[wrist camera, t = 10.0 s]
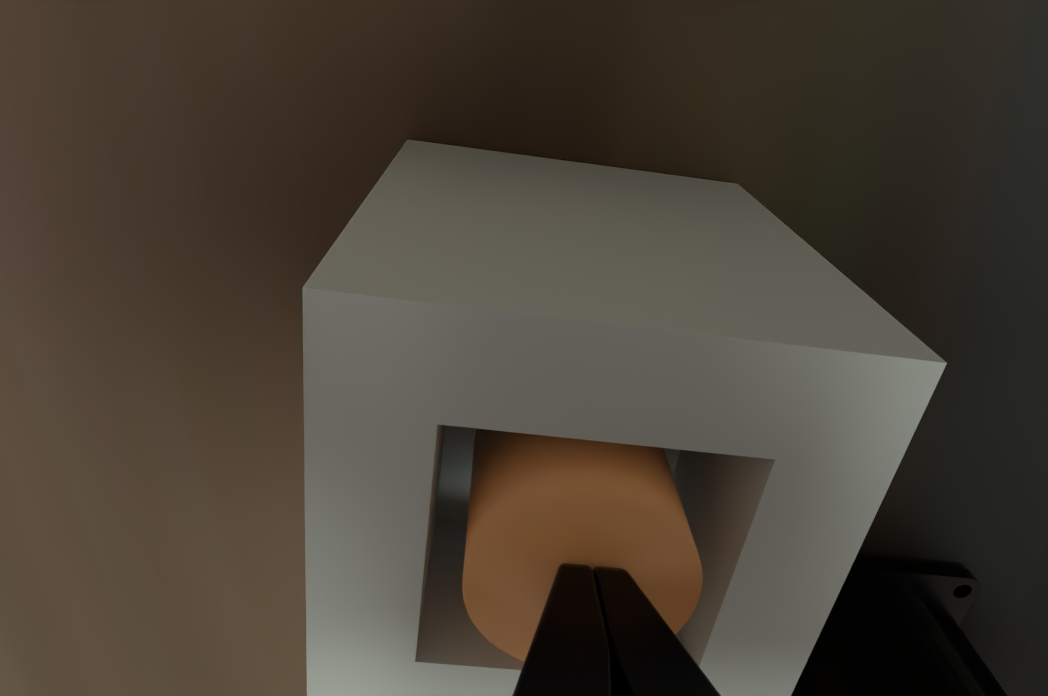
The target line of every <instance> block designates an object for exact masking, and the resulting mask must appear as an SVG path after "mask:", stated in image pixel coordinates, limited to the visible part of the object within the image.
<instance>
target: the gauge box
mask: <svg viewBox="0 0 1048 696" xmlns="http://www.w3.org/2000/svg"><path fill="white" fill-rule="evenodd" d="M302 297H303V383H304V470H305V557H306V643H307V696H512V695H513V692H514V690H515V687H516V684H517V681H518V678H519V676H520V673H521V670H522V667H523V665H524V662H525V661H522V660H520V659H517V658H515V657H513V656H511V655H509V654H507V653H505V652H504V651H502V650H500V649H499V648H497V647H496V646H495V645H493V644H492V643H491V642H489V641H488V640H487V639H486V638H485V637H484V636H483V635H482V634H481V633H480V632H479V630H478V629H477V628H476V626H475V625H474V624H473V622H472V620H471V618H470V616H469V615H468V613H467V610H466V607H465V604H464V600H463V592H462V581H463V568H464V556H465V545H466V533H467V521H468V509H469V498H470V486H471V474H472V462H473V451H474V439H475V434H476V429H487V430H496V431H506V432H515V433H525V434H535V435H544V436H554V437H563V438H573V439H583V440H592V441H602V442H611V443H621V444H631V445H640V446H650V447H659V448H664V451H665V454H666V457H667V460H668V463H669V466H670V469H671V472H672V475H673V479H674V482H675V485H676V488H677V491H678V494H679V497H680V500H681V503H682V506H683V509H684V512H685V515H686V518H687V521H688V524H689V527H690V530H691V533H692V536H693V539H694V542H695V545H696V548H697V551H698V554H699V558H700V561H701V565H702V574H703V580H702V590H701V594H700V597H699V601H698V603H697V605H696V607H695V610H694V611H693V613H692V615H691V616H690V618H689V619H688V621H687V622H686V623H685V624H684V626H683V627H682V628H681V629H680V630H679V631H678V632H677V633H676V634H675V635H676V636H677V638H678V639H679V640H680V642H681V643H682V644H683V646H684V647H685V648H686V650H687V651H688V652H689V654H690V655H691V656H692V658H693V659H694V660H695V662H696V663H697V664H698V666H699V667H700V668H701V670H702V671H703V672H704V674H705V675H706V676H707V678H708V679H709V680H710V682H711V683H712V684H713V686H714V687H715V688H716V690H717V691H718V692H719V694H720V695H721V696H791V694H792V692H793V690H794V688H795V686H796V684H797V682H798V679H799V677H800V675H801V673H802V671H803V669H804V667H805V665H806V662H807V660H808V658H809V656H810V654H811V652H812V650H813V648H814V645H815V643H816V641H817V639H818V637H819V635H820V633H821V630H822V628H823V626H824V624H825V622H826V620H827V618H828V616H829V613H830V611H831V609H832V607H833V605H834V603H835V601H836V599H837V596H838V594H839V592H840V590H841V588H842V586H843V584H844V581H845V579H846V577H847V575H848V573H849V571H850V569H851V567H852V564H853V562H854V560H855V558H856V556H857V554H858V552H859V550H860V547H861V545H862V543H863V541H864V539H865V537H866V535H867V532H868V530H869V528H870V526H871V524H872V522H873V520H874V518H875V515H876V513H877V511H878V509H879V507H880V505H881V503H882V501H883V498H884V496H885V494H886V492H887V490H888V488H889V486H890V483H891V481H892V479H893V477H894V475H895V473H896V471H897V469H898V466H899V464H900V462H901V460H902V458H903V456H904V454H905V452H906V449H907V447H908V445H909V443H910V441H911V439H912V437H913V434H914V432H915V430H916V428H917V426H918V424H919V422H920V420H921V417H922V415H923V413H924V411H925V409H926V407H927V405H928V403H929V400H930V398H931V396H932V394H933V392H934V390H935V388H936V385H937V383H938V381H939V379H940V377H941V375H942V373H943V371H944V368H945V366H946V364H947V363H946V362H945V361H944V360H943V359H942V358H941V357H939V356H938V355H937V354H936V353H935V352H934V351H932V350H931V349H930V348H929V347H928V346H927V345H925V344H924V343H923V342H922V341H921V340H920V339H918V338H917V337H916V336H915V335H914V334H913V333H911V332H910V331H909V330H908V329H907V328H906V327H904V326H903V325H902V324H901V323H900V322H899V321H897V320H896V319H895V318H894V317H893V316H892V315H890V314H889V313H888V312H887V311H886V310H885V309H883V308H882V307H881V306H880V305H879V304H878V303H876V302H875V301H874V300H873V299H872V298H871V297H869V296H868V295H867V294H866V293H865V292H864V291H862V290H861V289H860V288H859V287H858V286H856V285H855V284H854V283H853V282H852V281H851V280H849V279H848V278H847V277H846V276H845V275H844V274H842V273H841V272H840V271H839V270H838V269H837V268H835V267H834V266H833V265H832V264H831V263H830V262H828V261H827V260H826V259H825V258H824V257H823V256H821V255H820V254H819V253H818V252H817V251H816V250H814V249H813V248H812V247H811V246H810V245H809V244H807V243H806V242H805V241H804V240H803V239H802V238H800V237H799V236H798V235H797V234H796V233H795V232H793V231H792V230H791V229H790V228H789V227H788V226H786V225H785V224H784V223H783V222H782V221H781V220H779V219H778V218H777V217H776V216H775V215H774V214H772V213H771V212H770V211H769V210H768V209H767V208H765V207H764V206H763V205H762V204H761V203H760V202H758V201H757V200H756V199H755V198H754V197H753V196H751V195H750V194H749V193H748V192H747V191H746V190H744V189H743V188H742V187H741V186H740V185H739V184H737V183H729V182H722V181H714V180H707V179H699V178H692V177H684V176H677V175H669V174H662V173H655V172H647V171H640V170H632V169H625V168H617V167H610V166H602V165H595V164H587V163H580V162H573V161H565V160H558V159H550V158H543V157H535V156H528V155H520V154H513V153H506V152H498V151H491V150H483V149H476V148H468V147H461V146H453V145H446V144H438V143H431V142H424V141H416V140H409V139H407V141H406V142H405V143H404V145H403V146H402V148H401V149H400V151H399V152H398V153H397V155H396V156H395V158H394V159H393V160H392V162H391V163H390V165H389V166H388V167H387V169H386V170H385V172H384V173H383V175H382V176H381V177H380V179H379V180H378V182H377V183H376V184H375V186H374V187H373V189H372V190H371V191H370V193H369V194H368V196H367V197H366V199H365V200H364V201H363V203H362V204H361V206H360V207H359V208H358V210H357V211H356V213H355V214H354V215H353V217H352V218H351V220H350V221H349V223H348V224H347V225H346V227H345V228H344V230H343V231H342V232H341V234H340V235H339V237H338V238H337V239H336V241H335V242H334V244H333V245H332V247H331V248H330V249H329V251H328V252H327V254H326V255H325V256H324V258H323V259H322V261H321V262H320V263H319V265H318V266H317V268H316V269H315V271H314V272H313V273H312V275H311V276H310V278H309V279H308V280H307V282H306V283H305V285H304V286H303V287H302Z"/></svg>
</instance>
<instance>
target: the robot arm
mask: <svg viewBox="0 0 1048 696" xmlns="http://www.w3.org/2000/svg"><path fill="white" fill-rule="evenodd" d="M980 589H981V587H980V583H979V582H978V581H977V579H976V578H975V577H974V576H973V574H972V573H971V572H970V571H969V570H967V569H964V568H958V567H947V566H937V565H926V564H915V563H905V562H894V561H883V560H873V559H862V558H855V560H854V562H853V564H852V567H851V569H850V571H849V573H848V575H847V577H846V579H845V581H844V584H843V586H842V588H841V590H840V592H839V594H838V596H837V599H836V601H835V603H834V605H833V607H832V609H831V611H830V613H829V616H828V618H827V620H826V622H825V624H824V626H823V628H822V630H821V633H820V635H819V637H818V639H817V641H816V643H815V645H814V648H813V650H812V652H811V654H810V656H809V658H808V660H807V662H806V665H805V667H804V669H803V671H802V673H801V675H800V677H799V679H798V682H797V684H796V686H795V688H794V690H793V692H792V694H791V696H1007V695H1006V693H1005V692H1004V690H1003V689H1002V687H1001V686H1000V685H999V683H998V682H997V680H996V679H995V677H994V676H993V675H992V673H991V672H990V670H989V669H988V667H987V666H986V665H985V663H984V662H983V660H982V659H981V657H980V656H979V655H978V653H977V652H976V650H975V649H974V648H973V646H972V645H971V643H970V642H969V640H968V639H967V638H966V636H965V635H964V633H963V632H962V630H961V629H960V628H959V626H960V624H961V623H962V621H963V619H964V617H965V616H966V614H967V612H968V611H969V609H970V607H971V606H972V604H973V602H974V601H975V599H976V597H977V596H978V594H979V592H980ZM512 696H721V695H720V694H719V692H718V691H717V690H716V688H715V687H714V686H713V684H712V683H711V682H710V680H709V679H708V678H707V676H706V675H705V674H704V672H703V671H702V670H701V668H700V667H699V666H698V664H697V663H696V662H695V660H694V659H693V658H692V656H691V655H690V654H689V652H688V651H687V650H686V648H685V647H684V646H683V644H682V643H681V642H680V640H679V639H678V638H677V636H676V635H675V634H674V632H673V631H672V630H671V628H670V627H669V626H668V624H667V623H666V622H665V620H664V619H663V618H662V616H661V615H660V614H659V612H658V611H657V610H656V608H655V607H654V606H653V604H652V603H651V602H650V600H649V599H648V598H647V596H646V595H645V594H644V592H643V591H642V590H641V588H640V587H639V586H638V584H637V583H636V582H635V580H634V579H633V578H632V576H631V575H630V574H629V572H627V571H626V570H625V569H622V568H613V567H603V566H597V567H595V568H593V569H592V568H591V567H590V566H588V565H581V564H570V563H562V564H561V565H560V566H559V568H558V570H557V573H556V576H555V578H554V581H553V584H552V587H551V589H550V592H549V595H548V598H547V601H546V603H545V606H544V609H543V612H542V614H541V617H540V620H539V623H538V626H537V628H536V631H535V634H534V637H533V640H532V642H531V645H530V648H529V651H528V653H527V656H526V659H525V662H524V665H523V667H522V670H521V673H520V676H519V678H518V681H517V684H516V687H515V690H514V692H513V695H512Z"/></svg>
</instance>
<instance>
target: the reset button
mask: <svg viewBox="0 0 1048 696" xmlns="http://www.w3.org/2000/svg"><path fill="white" fill-rule="evenodd" d="M562 563H570V564H581V565H588V566H590V567H591V568H592V569H593V568H595V567H597V566H603V567H613V568H622V569H625V570H626V571H627V572H629V574H630V575H631V576H632V578H633V579H634V580H635V582H636V583H637V584H638V586H639V587H640V588H641V590H642V591H643V592H644V594H645V595H646V596H647V598H648V599H649V600H650V602H651V603H652V604H653V606H654V607H655V608H656V610H657V611H658V612H659V614H660V615H661V616H662V618H663V619H664V620H665V622H666V623H667V624H668V626H669V627H670V628H671V630H672V631H673V632H674V634H676V633H677V632H678V631H679V630H680V629H681V628H682V627H683V626H684V624H685V623H686V622H687V621H688V619H689V618H690V616H691V615H692V613H693V611H694V610H695V607H696V605H697V603H698V601H699V597H700V594H701V590H702V580H703V574H702V565H701V561H700V558H699V554H698V551H697V548H696V545H695V542H694V539H693V536H692V533H691V530H690V527H689V524H688V521H687V518H686V515H685V512H684V509H683V506H682V503H681V500H680V497H679V494H678V491H677V488H676V485H675V482H674V479H673V475H672V472H671V469H670V466H669V463H668V460H667V457H666V454H665V451H664V448H659V447H650V446H640V445H631V444H621V443H611V442H602V441H592V440H583V439H573V438H563V437H554V436H544V435H535V434H525V433H515V432H506V431H496V430H487V429H476V434H475V439H474V451H473V462H472V474H471V486H470V498H469V509H468V521H467V533H466V545H465V556H464V568H463V581H462V592H463V600H464V604H465V607H466V610H467V613H468V615H469V616H470V618H471V620H472V622H473V624H474V625H475V626H476V628H477V629H478V630H479V632H480V633H481V634H482V635H483V636H484V637H485V638H486V639H487V640H488V641H489V642H491V643H492V644H493V645H495V646H496V647H497V648H499V649H500V650H502V651H504V652H505V653H507V654H509V655H511V656H513V657H515V658H517V659H520V660H522V661H525V659H526V656H527V653H528V651H529V648H530V645H531V642H532V640H533V637H534V634H535V631H536V628H537V626H538V623H539V620H540V617H541V614H542V612H543V609H544V606H545V603H546V601H547V598H548V595H549V592H550V589H551V587H552V584H553V581H554V578H555V576H556V573H557V570H558V568H559V566H560V565H561V564H562Z"/></svg>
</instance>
